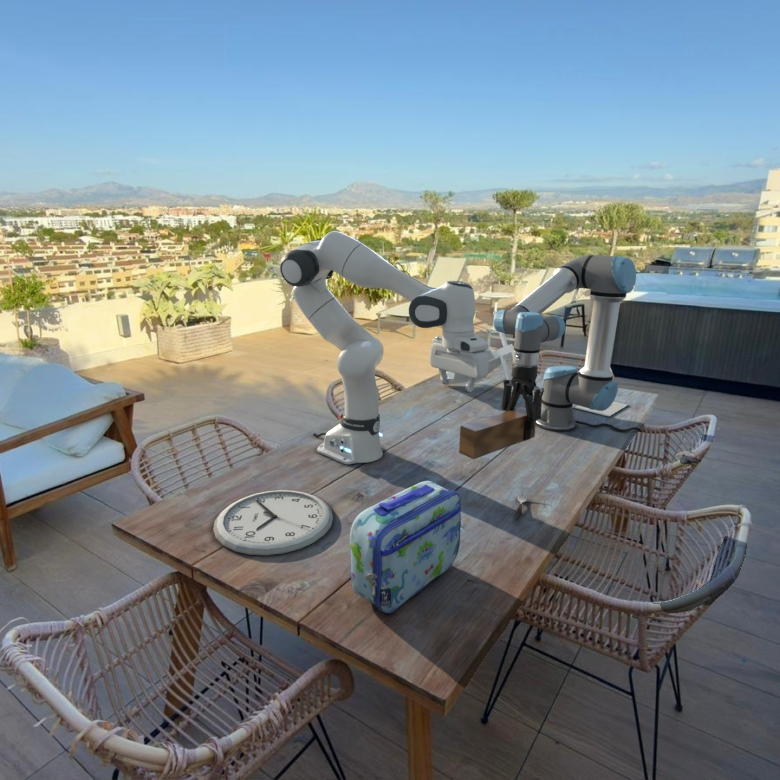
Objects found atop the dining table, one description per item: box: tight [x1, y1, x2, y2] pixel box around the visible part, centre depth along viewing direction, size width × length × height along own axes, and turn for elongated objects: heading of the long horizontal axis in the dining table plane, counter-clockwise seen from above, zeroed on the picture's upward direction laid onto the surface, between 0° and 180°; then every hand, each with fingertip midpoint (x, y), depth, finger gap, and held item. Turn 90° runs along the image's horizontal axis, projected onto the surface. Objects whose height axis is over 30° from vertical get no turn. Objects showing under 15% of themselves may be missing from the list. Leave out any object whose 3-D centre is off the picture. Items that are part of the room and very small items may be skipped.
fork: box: [516, 487, 529, 521], centre depth 143 cm, size 3×16×2 cm, turn 160°
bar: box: [458, 406, 537, 460], centre depth 157 cm, size 28×6×8 cm, turn 128°
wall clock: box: [212, 489, 334, 556], centre depth 134 cm, size 30×2×30 cm
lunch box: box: [349, 480, 462, 614], centre depth 109 cm, size 26×11×21 cm, turn 134°
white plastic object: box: [440, 310, 528, 396], centre depth 245 cm, size 37×45×31 cm
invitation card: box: [573, 400, 629, 418], centre depth 226 cm, size 21×1×15 cm
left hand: (457, 387), depth 150 cm, fingers open, 8 cm apart
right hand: (518, 436), depth 164 cm, fingers closed on bar, 6 cm apart
